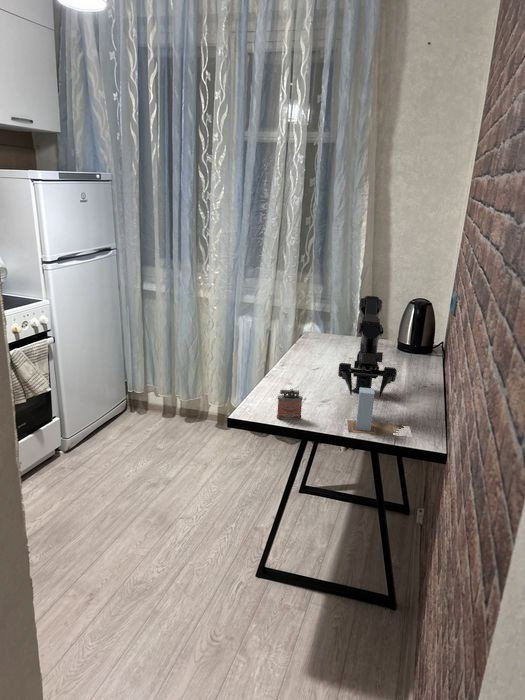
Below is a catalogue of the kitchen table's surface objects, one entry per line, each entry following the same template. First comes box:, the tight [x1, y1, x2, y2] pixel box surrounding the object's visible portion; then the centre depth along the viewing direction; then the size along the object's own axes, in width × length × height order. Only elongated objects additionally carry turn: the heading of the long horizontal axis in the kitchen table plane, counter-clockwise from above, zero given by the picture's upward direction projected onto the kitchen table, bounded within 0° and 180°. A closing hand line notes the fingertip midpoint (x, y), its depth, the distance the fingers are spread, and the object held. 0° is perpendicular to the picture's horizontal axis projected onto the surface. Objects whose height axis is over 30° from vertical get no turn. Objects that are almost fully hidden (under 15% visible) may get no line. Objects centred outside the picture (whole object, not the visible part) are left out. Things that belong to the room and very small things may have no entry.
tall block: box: [355, 387, 375, 431], centre depth 170 cm, size 4×4×12 cm
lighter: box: [276, 388, 303, 421], centre depth 175 cm, size 8×3×10 cm, turn 92°
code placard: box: [346, 419, 408, 437], centre depth 171 cm, size 20×9×1 cm, turn 83°
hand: (365, 395), depth 175 cm, fingers open, 9 cm apart
